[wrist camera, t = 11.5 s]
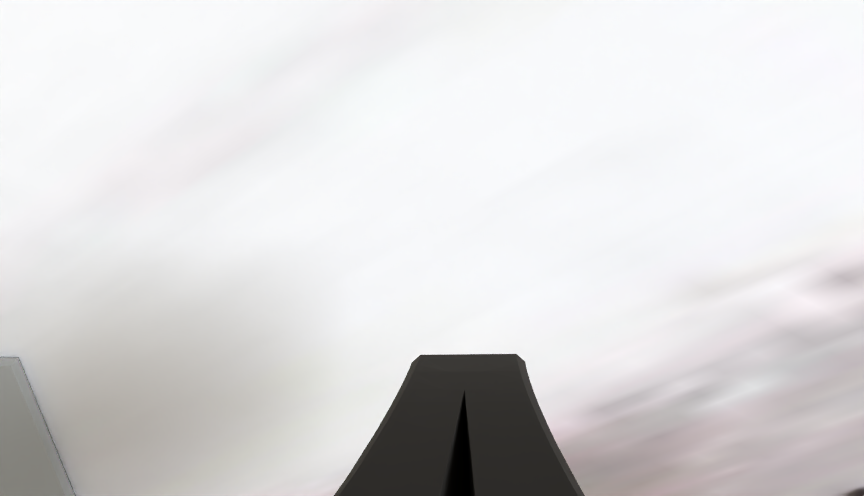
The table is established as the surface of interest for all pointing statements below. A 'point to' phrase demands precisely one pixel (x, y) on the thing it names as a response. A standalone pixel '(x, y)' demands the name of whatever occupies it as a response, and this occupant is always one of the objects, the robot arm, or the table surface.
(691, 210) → the table surface
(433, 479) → the robot arm
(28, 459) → the rubber mat
